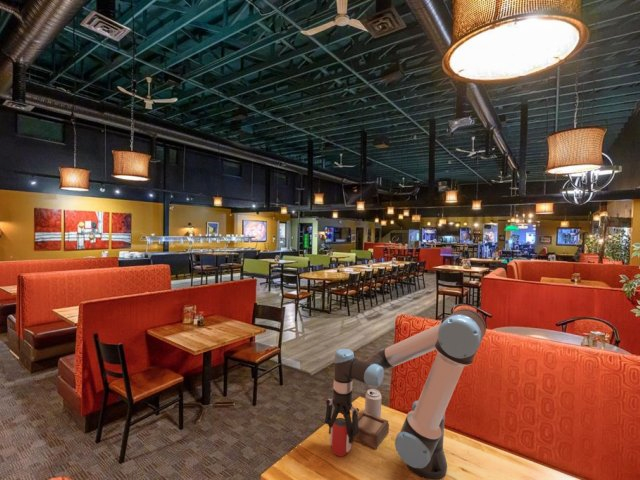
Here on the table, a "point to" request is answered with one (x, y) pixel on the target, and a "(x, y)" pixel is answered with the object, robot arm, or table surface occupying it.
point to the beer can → (339, 437)
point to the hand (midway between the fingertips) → (340, 445)
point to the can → (373, 402)
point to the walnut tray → (371, 429)
